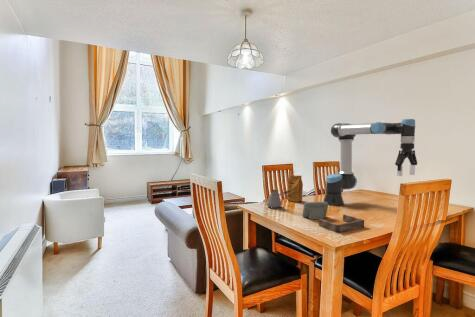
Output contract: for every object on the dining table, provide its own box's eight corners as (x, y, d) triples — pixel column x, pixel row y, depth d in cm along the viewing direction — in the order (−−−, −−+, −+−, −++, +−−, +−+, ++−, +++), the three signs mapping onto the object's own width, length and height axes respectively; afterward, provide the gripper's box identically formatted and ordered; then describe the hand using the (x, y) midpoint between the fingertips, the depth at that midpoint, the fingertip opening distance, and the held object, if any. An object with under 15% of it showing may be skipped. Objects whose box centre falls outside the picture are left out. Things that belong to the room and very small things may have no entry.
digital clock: (326, 216, 171) (326, 200, 170) (329, 220, 162) (330, 203, 161) (301, 215, 173) (301, 199, 172) (303, 219, 164) (303, 202, 163)
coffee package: (291, 198, 225) (292, 173, 223) (304, 201, 216) (304, 175, 214) (284, 200, 218) (285, 174, 216) (297, 203, 209) (297, 176, 207)
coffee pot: (263, 207, 195) (263, 187, 194) (272, 204, 203) (272, 185, 202) (287, 212, 180) (287, 191, 179) (296, 209, 188) (296, 189, 187)
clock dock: (318, 225, 150) (318, 219, 150) (344, 220, 161) (344, 214, 160) (337, 233, 138) (337, 225, 138) (364, 226, 149) (364, 220, 149)
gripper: (401, 142, 158) (400, 177, 160) (424, 143, 170) (422, 174, 171) (389, 142, 165) (388, 175, 166) (412, 143, 176) (411, 173, 178)
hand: (405, 175), depth 169 cm, fingers open, 13 cm apart
